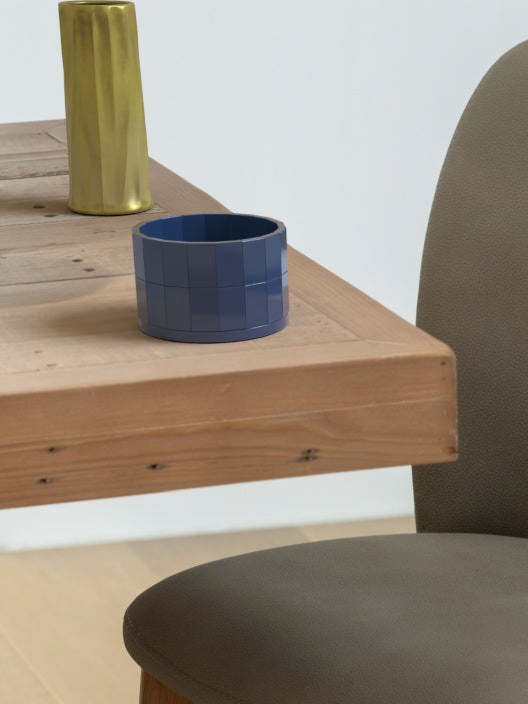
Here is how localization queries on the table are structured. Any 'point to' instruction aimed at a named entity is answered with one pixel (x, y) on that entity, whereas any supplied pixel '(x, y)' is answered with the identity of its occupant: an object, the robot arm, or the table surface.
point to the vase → (104, 108)
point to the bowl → (211, 276)
